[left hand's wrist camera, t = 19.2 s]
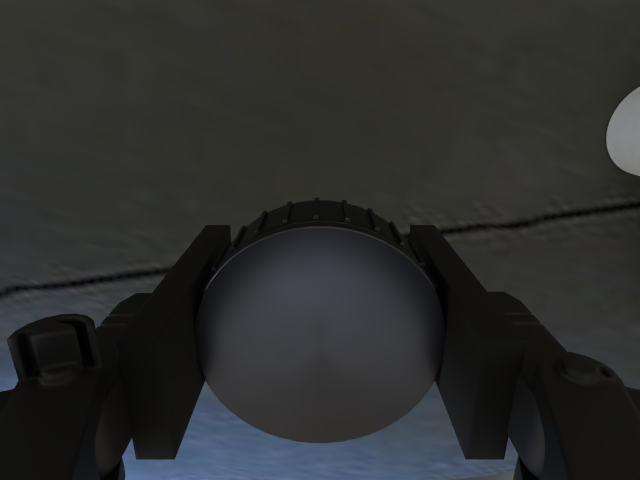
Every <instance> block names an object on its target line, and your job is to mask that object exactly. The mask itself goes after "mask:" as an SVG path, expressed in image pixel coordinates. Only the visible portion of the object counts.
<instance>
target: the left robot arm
mask: <svg viewBox="0 0 640 480" xmlns="http://www.w3.org/2000/svg"><path fill="white" fill-rule="evenodd" d="M409 239H410V240H411V241H412V243H413V245H414V246H415V248H416V250H417V252H418V253H419V255H420V257H421V258H422V260H423V262H424V264H425V265H426V267H427V269H428V271H429V272H430V274H431V276H432V277H433V279H434V281H435V283H436V284H437V286H438V289H437V290H436V291H437V293H438V295H439V298H440V301H441V304H442V306H443V309H444V314H445V320H446V337H445V346H444V354H443V361H442V365H441V368H440V370H439V372H438V375H437V377H436V379H435V381H436V384H437V386H438V389H439V391H440V394H441V397H442V399H443V402H444V404H445V407H446V410H447V412H448V415H449V417H450V420H451V423H452V425H453V428H454V430H455V433H456V435H457V438H458V441H459V443H460V446H461V448H462V451H463V454H464V456H465V459H504V456H505V451H506V446H507V441H508V436H509V438H510V439H511V441H512V443H513V445H514V447H515V449H516V451H517V453H518V459H517V464H516V469H515V473H514V478H513V480H640V390H638V389H633V388H629V387H625V386H624V384H623V382H622V380H621V379H620V378H619V377H618V376H617V374H616V373H615V372H614V371H613V370H612V369H610V368H609V367H607V366H606V365H604V364H603V363H601V362H599V361H597V360H594V359H592V358H590V357H587V356H585V355H580V354H576V353H572V352H567V351H566V350H565V349H564V348H563V347H562V346H561V344H560V343H559V342H558V341H557V340H556V339H555V338H554V337H553V336H552V335H551V334H550V332H549V331H548V330H547V329H546V328H545V327H544V326H543V325H540V322H539V321H538V319H537V318H536V317H535V316H534V315H532V314H531V312H530V311H529V310H528V309H527V307H526V306H525V305H524V304H523V303H522V302H521V301H519V300H518V299H516V298H514V297H512V296H511V295H509V294H507V293H505V292H487V291H486V290H485V289H484V287H483V286H482V285H481V283H480V282H479V281H478V280H477V278H476V277H475V276H474V275H473V273H472V272H471V271H470V270H469V268H468V267H467V266H466V265H465V263H464V262H463V261H462V260H461V258H460V257H459V256H458V255H457V253H456V252H455V251H454V250H453V248H452V247H451V246H450V245H449V243H448V242H447V241H446V240H445V238H444V237H443V236H442V235H441V233H440V232H439V231H438V230H437V228H436V227H435V226H434V225H410V236H409ZM227 244H228V245H231V233H230V225H206V226H205V227H204V229H203V230H202V231H201V232H200V234H199V235H198V236H197V237H196V239H195V240H194V241H193V242H192V244H191V245H190V246H189V248H188V249H187V250H186V251H185V253H184V254H183V255H182V256H181V258H180V259H179V260H178V261H177V263H176V264H175V265H174V266H173V268H172V269H171V270H170V271H169V273H168V274H167V275H166V276H165V278H164V279H163V280H162V281H161V283H160V284H159V285H158V286H157V288H156V289H155V290H154V291H153V293H136V294H134V295H133V296H131V297H129V298H127V299H126V300H124V301H122V302H120V303H119V304H118V305H117V306H116V307H115V308H114V310H113V311H112V312H111V313H110V314H109V317H106V318H105V319H104V321H103V322H102V323H101V325H100V326H98V327H97V328H96V329H95V325H94V320H92V319H91V318H90V317H88V316H85V315H80V314H61V315H56V316H51V317H47V318H43V319H40V320H38V321H35V322H32V323H29V324H27V325H26V326H24V327H22V328H20V329H19V330H17V331H15V332H14V333H13V334H12V335H11V336H10V337H9V338H8V339H7V342H8V345H9V349H10V352H11V356H12V359H13V362H14V366H15V369H16V373H17V376H18V379H19V381H18V383H17V385H16V387H15V388H14V389H12V390H7V391H2V392H0V480H125V470H124V464H123V459H122V455H123V454H124V452H125V450H126V448H127V446H128V444H129V442H130V440H131V438H132V439H133V445H134V450H135V455H136V459H175V457H176V454H177V452H178V449H179V447H180V444H181V441H182V439H183V436H184V434H185V431H186V428H187V426H188V423H189V421H190V418H191V415H192V413H193V410H194V408H195V405H196V403H197V400H198V397H199V395H200V392H201V390H202V387H203V384H204V382H205V378H204V376H203V374H202V371H201V369H200V367H199V364H198V360H197V352H196V344H195V335H194V322H195V317H196V312H197V308H198V305H199V302H200V299H201V297H202V296H201V295H200V293H201V291H202V289H203V287H204V285H205V284H206V282H207V280H208V278H209V277H210V275H211V273H212V271H211V270H212V269H213V267H214V265H215V263H216V262H217V260H218V258H219V256H220V255H221V253H222V251H223V250H224V248H225V246H226V245H227Z"/></svg>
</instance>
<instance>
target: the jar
mask: <svg viewBox="0 0 640 480" xmlns="http://www.w3.org/2000/svg"><path fill="white" fill-rule="evenodd" d="M606 143H607V149H608V153H609V155H610V157H611V159H612V160H613V162H614V163H615V164H616V165H617V166H618V167H619V168H621V169H622V170H624V171H626V172H628V173H631V174H634V175H637V176H640V87H638V88H637V89H635V90H634V91H632V92H631V93H630V94H629V95H628V96H626V97H625V98H624V99H623V101H622V102H621V103H620V104H619V105H618V107H617V108H616V110H615V111H614V113H613V115H612V117H611V120H610V122H609V125H608V129H607V135H606Z"/></svg>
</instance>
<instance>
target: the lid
mask: <svg viewBox="0 0 640 480" xmlns="http://www.w3.org/2000/svg"><path fill="white" fill-rule="evenodd" d="M211 271H212V273H211V275H210V277H209V278H208V280H207V282H206V284H205V285H204V287H203V289H202V291H201V293H200V295H201V296H202V297H201V299H200V302H199V305H198V308H197V312H196V317H195V322H194V335H195V344H196V352H197V360H198V364H199V367H200V369H201V371H202V374H203V376H204V378H205V380H206V382H207V383H208V385H209V387H210V388H211V390H212V391H213V393H214V394H215V395H216V396H217V398H218V399H219V400H220V401H221V402H222V403H223V404H224V405H225V406H226V407H227V408H228V409H229V410H230V411H231V412H232V413H234V414H235V415H236V416H238V417H239V418H240V419H242V420H243V421H245V422H246V423H248V424H250V425H251V426H253V427H255V428H257V429H259V430H261V431H264V432H266V433H268V434H271V435H274V436H277V437H280V438H284V439H289V440H293V441H299V442H308V443H332V442H342V441H347V440H352V439H357V438H360V437H363V436H366V435H369V434H372V433H374V432H377V431H379V430H381V429H384V428H385V427H387V426H389V425H391V424H392V423H394V422H396V421H397V420H399V419H400V418H401V417H403V416H404V415H406V414H407V413H408V412H409V411H410V410H411V409H412V408H414V407H415V406H416V405H417V404H418V403H419V402H420V400H421V399H422V398H423V397H424V396H425V394H426V393H427V392H428V390H429V389H430V387H431V386H432V384H433V382H434V381H435V379H436V377H437V375H438V372H439V370H440V368H441V365H442V361H443V354H444V346H445V337H446V320H445V314H444V309H443V306H442V304H441V301H440V298H439V295H438V293H437V291H436V290H437V289H438V286H437V284H436V283H435V281H434V279H433V277H432V276H431V274H430V272H429V271H428V269H427V267H426V265H425V264H424V262H423V260H422V258H421V257H420V255H419V253H418V252H417V250H416V248H415V246H414V245H413V243H412V241H411V240H410V239H409V240H406V239H405V237H404V236H403V235H402V234H401V233H400V232H399V231H398V230H397V228H396V226H395V224H394V223H393V222H392V221H391V222H390V223H388V222H387V221H386V220H384V219H383V218H381V217H379V216H377V215H376V214H374V213H373V210H372V209H370V208H368V210H365V209H363V208H360V207H358V206H354V205H350V204H347V201H346V200H342V202H335V201H319V198H315V201H306V202H298V203H294V204H292V201H290V202H287V205H286V206H283V207H280V208H278V209H275V210H273V211H270V212H268V213H267V211H264V212H262V215H261V217H259V218H258V219H256V220H255V221H254V222H252V223H251V224H250V225H248V226H247V227H245V226H242V227H241V229H240V231H239V233H238V235H237V236H236V238H235V239H234V241H233V242H232V243H231V245H228V244H227V245H226V246H225V248H224V250H223V251H222V253H221V255H220V256H219V258H218V260H217V262H216V263H215V265H214V267H213V269H212V270H211Z"/></svg>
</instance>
